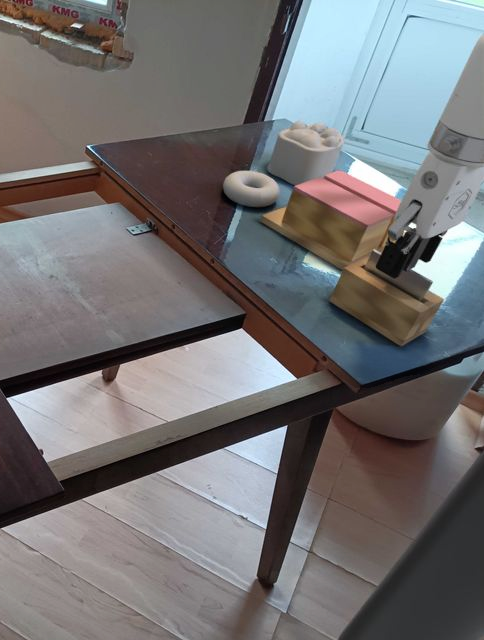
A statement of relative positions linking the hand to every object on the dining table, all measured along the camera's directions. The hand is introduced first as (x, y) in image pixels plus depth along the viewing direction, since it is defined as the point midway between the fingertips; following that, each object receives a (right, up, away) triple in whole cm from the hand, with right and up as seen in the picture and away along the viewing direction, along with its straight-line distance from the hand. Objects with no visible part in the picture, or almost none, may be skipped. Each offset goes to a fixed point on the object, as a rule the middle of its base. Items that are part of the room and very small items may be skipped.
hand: (402, 264), depth 94 cm
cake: (+2, +8, +23) cm, 24 cm away
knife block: (-1, -7, +6) cm, 9 cm away
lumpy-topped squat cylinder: (+3, +23, +41) cm, 47 cm away
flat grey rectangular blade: (0, -6, +5) cm, 8 cm away
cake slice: (+5, +10, +24) cm, 26 cm away
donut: (-11, +16, +32) cm, 37 cm away
